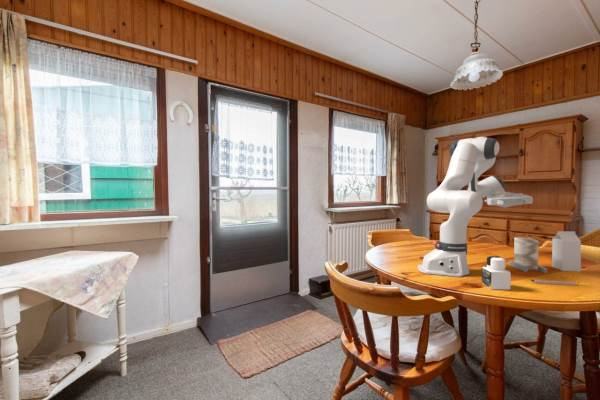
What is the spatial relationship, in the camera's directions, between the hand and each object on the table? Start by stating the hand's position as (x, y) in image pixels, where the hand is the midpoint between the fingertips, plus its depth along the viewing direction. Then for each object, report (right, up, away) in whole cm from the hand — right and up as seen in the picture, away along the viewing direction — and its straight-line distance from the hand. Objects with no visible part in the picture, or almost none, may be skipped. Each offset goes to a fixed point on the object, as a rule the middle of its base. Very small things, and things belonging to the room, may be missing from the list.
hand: (515, 202), depth 144 cm
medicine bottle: (-34, -34, -33) cm, 58 cm away
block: (-3, -32, -10) cm, 33 cm away
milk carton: (+14, -33, -13) cm, 38 cm away
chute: (-5, -33, -18) cm, 38 cm away
